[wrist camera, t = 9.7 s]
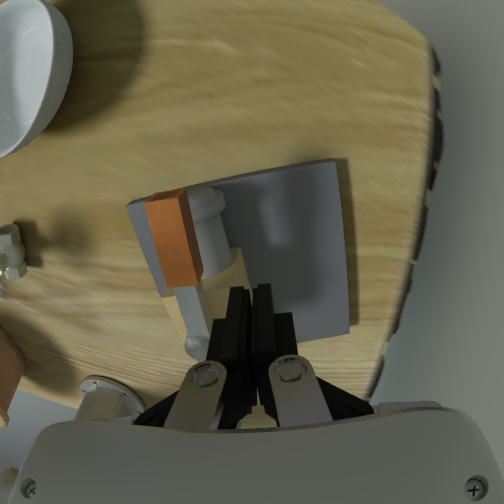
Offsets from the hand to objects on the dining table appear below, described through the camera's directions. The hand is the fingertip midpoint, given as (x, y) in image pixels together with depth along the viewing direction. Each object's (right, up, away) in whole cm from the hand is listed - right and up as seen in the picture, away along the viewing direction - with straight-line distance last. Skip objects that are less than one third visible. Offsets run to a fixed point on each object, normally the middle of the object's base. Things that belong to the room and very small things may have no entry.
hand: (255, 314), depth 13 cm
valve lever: (-4, +1, +9) cm, 10 cm away
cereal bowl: (-24, +22, +10) cm, 34 cm away
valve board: (0, +1, +20) cm, 20 cm away
